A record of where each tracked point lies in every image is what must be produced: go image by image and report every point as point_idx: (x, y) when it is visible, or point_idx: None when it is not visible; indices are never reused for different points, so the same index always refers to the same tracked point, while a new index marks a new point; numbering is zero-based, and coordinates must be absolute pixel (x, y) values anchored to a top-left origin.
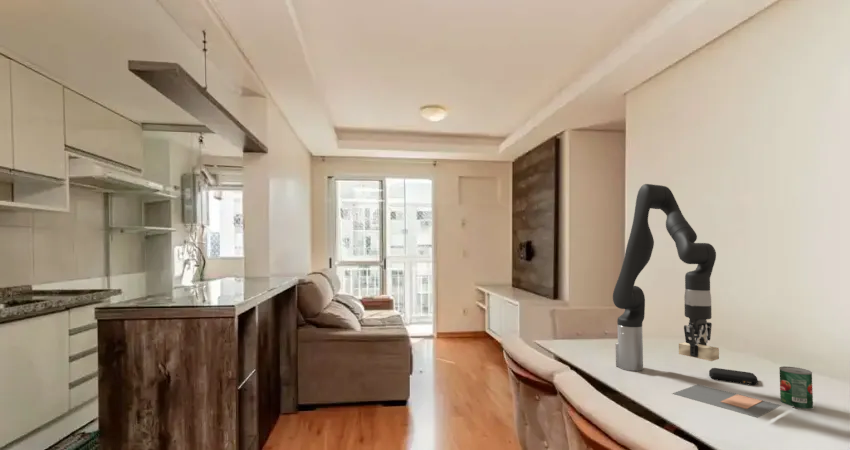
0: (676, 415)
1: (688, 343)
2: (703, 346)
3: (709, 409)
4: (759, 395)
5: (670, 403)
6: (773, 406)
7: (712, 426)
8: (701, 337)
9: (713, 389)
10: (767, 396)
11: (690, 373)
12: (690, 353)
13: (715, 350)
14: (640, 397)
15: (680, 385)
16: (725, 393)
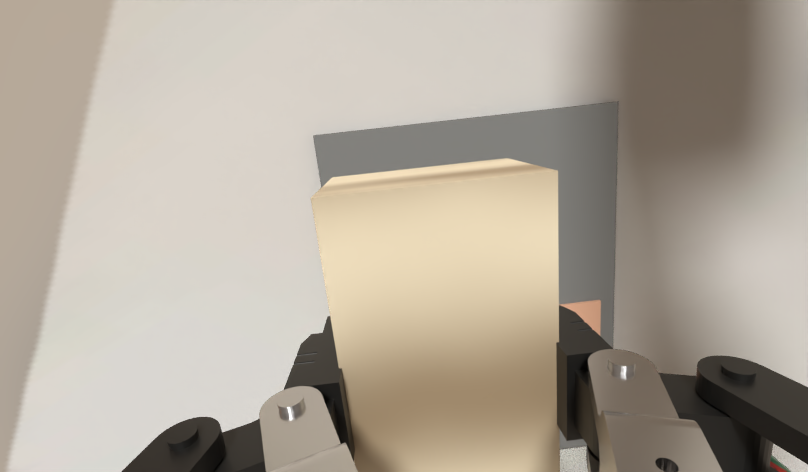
0: (86, 315)
1: (463, 261)
2: (470, 446)
3: (302, 333)
4: (703, 328)
5: (196, 208)
6: (563, 438)
7: (132, 437)
8: (706, 392)
9: (589, 200)
10: (716, 349)
11: None
12: (302, 343)
13: None
14: (112, 70)
15: (534, 43)
16: (574, 263)
